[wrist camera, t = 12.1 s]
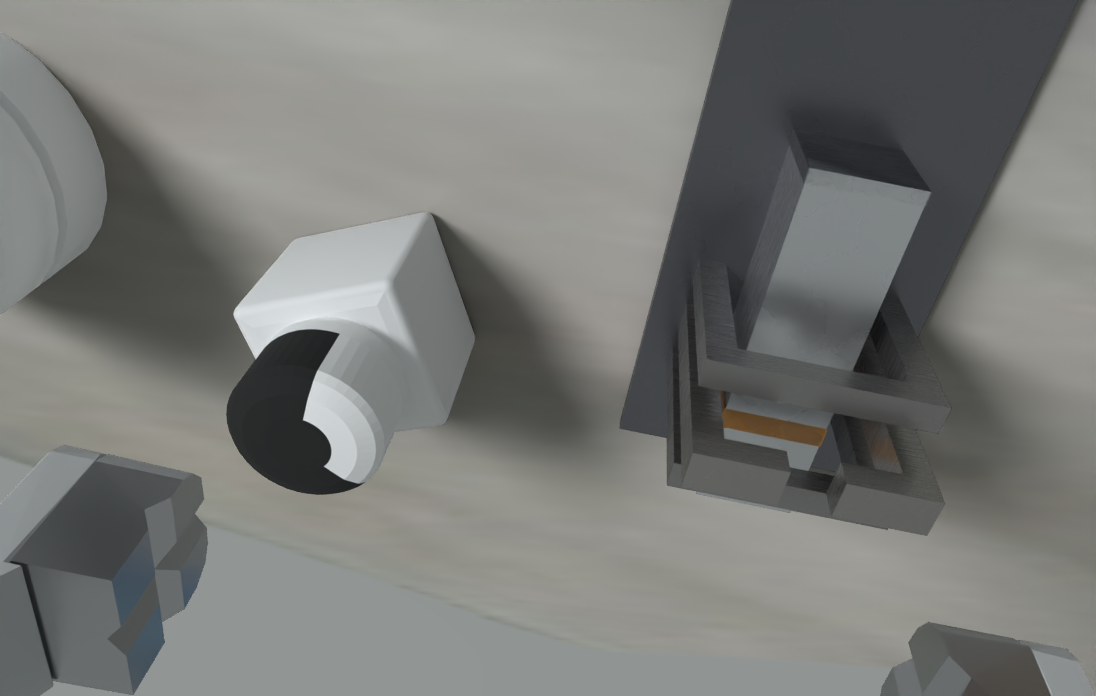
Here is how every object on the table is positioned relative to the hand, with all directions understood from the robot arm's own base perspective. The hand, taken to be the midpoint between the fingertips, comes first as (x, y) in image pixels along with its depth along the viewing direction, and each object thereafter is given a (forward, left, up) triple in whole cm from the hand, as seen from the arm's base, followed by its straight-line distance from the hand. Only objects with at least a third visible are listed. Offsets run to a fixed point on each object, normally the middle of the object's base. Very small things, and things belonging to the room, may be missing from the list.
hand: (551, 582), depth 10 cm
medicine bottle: (+14, -9, -29) cm, 33 cm away
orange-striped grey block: (+10, +9, -28) cm, 31 cm away
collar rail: (+6, +9, -29) cm, 31 cm away
